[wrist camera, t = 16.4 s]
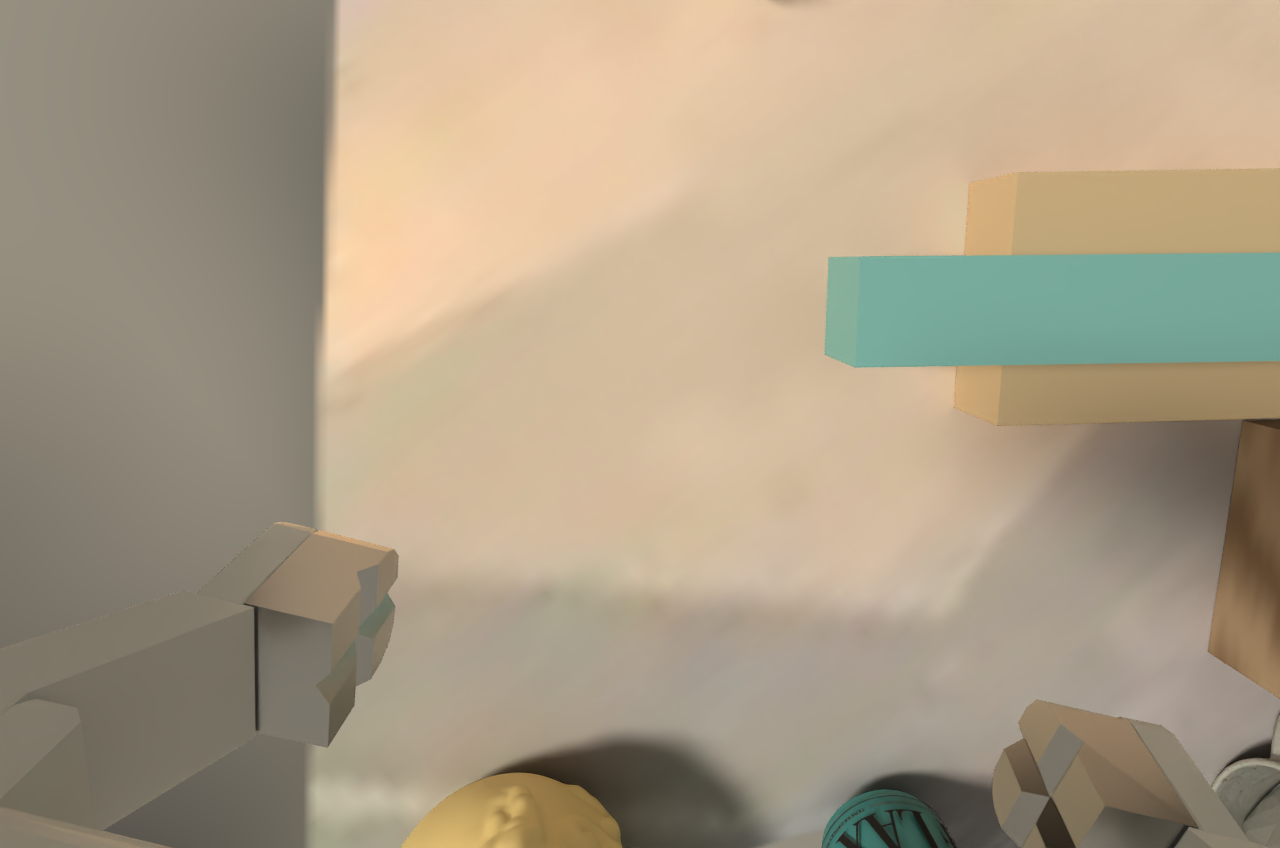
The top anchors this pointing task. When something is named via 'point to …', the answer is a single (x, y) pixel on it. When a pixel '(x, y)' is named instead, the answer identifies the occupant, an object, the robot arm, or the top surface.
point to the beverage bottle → (885, 823)
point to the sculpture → (517, 817)
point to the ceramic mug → (1254, 794)
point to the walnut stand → (1252, 562)
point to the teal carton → (1053, 309)
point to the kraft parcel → (1122, 224)
